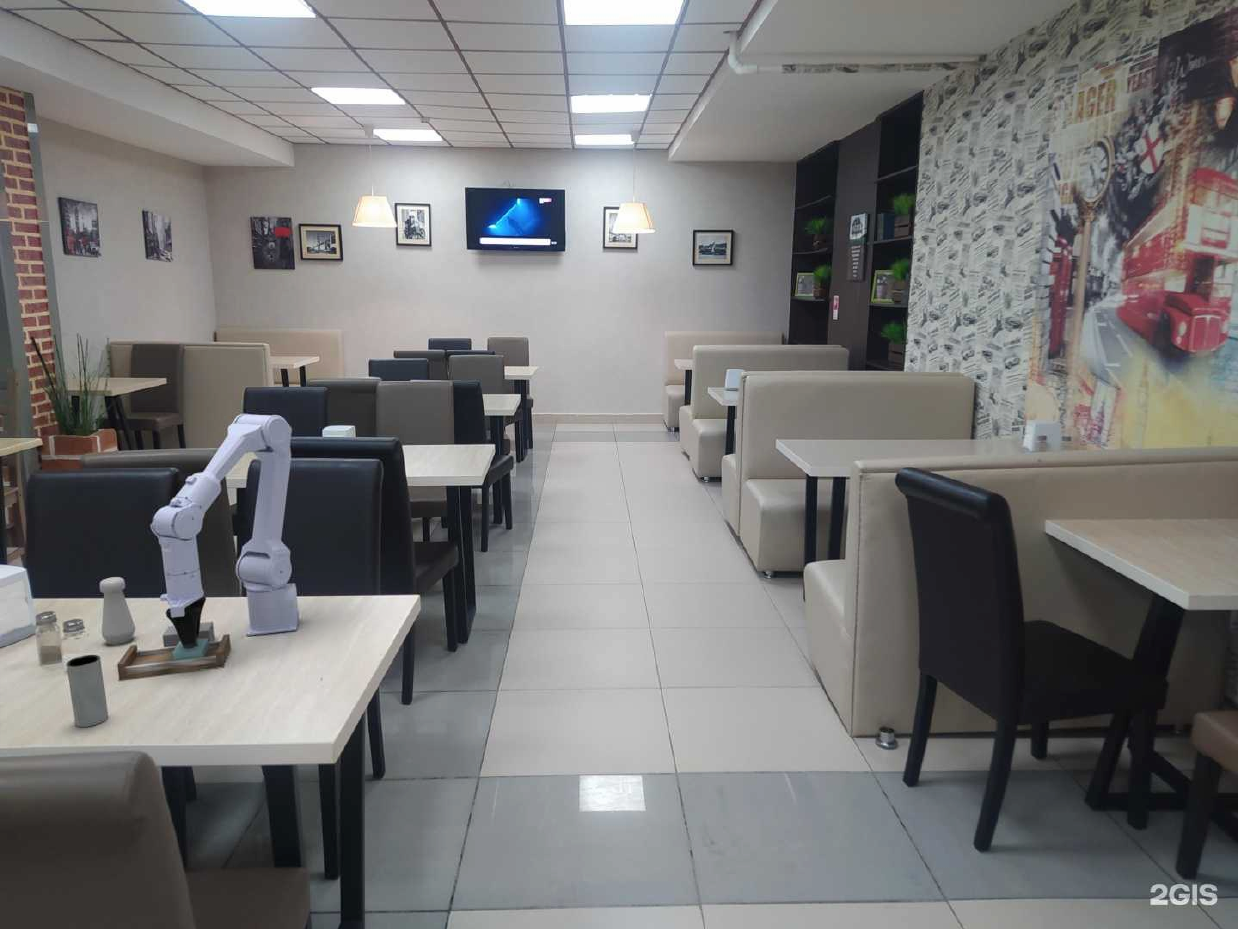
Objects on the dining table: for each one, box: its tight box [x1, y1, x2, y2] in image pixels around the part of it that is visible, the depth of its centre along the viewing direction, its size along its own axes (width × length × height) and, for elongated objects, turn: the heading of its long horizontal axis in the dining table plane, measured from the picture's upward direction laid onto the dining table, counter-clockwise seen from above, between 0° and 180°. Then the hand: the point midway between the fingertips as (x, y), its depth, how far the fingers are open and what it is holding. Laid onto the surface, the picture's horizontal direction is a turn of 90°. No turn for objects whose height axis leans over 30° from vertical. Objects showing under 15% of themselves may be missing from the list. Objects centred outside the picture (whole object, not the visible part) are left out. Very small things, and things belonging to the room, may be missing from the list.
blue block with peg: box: [172, 635, 209, 661], centre depth 154 cm, size 5×6×6 cm
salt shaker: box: [99, 576, 136, 646], centre depth 165 cm, size 6×6×13 cm
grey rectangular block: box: [162, 621, 216, 647], centre depth 163 cm, size 8×5×4 cm, turn 107°
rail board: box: [116, 633, 232, 681], centre depth 154 cm, size 17×9×3 cm, turn 107°
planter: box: [65, 654, 109, 728], centre depth 132 cm, size 4×4×10 cm
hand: (190, 640), depth 155 cm, fingers closed on blue block with peg, 2 cm apart
